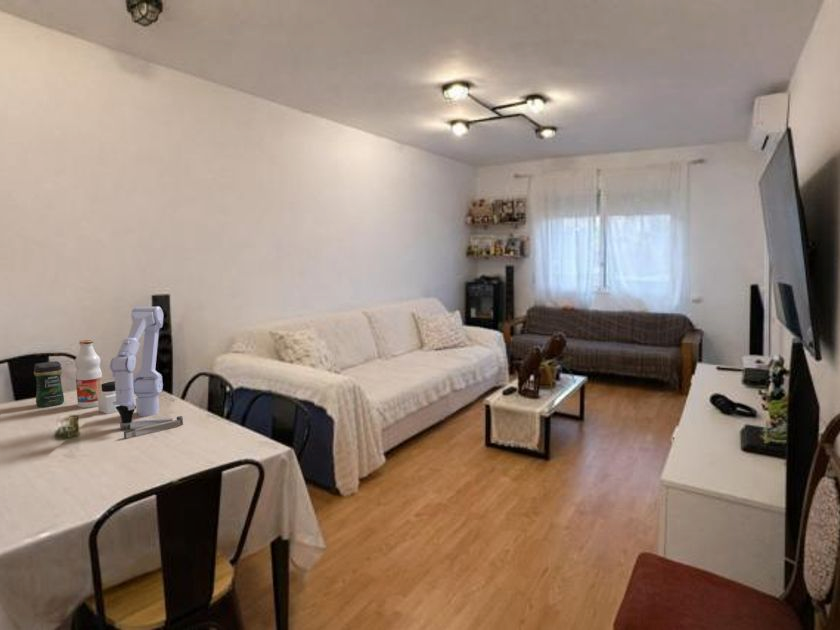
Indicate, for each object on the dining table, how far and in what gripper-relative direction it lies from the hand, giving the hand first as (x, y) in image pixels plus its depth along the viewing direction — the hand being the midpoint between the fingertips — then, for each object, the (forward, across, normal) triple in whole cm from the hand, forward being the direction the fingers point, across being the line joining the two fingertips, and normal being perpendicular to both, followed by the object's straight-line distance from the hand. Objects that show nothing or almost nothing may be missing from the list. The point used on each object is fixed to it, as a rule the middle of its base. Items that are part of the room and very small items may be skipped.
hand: (127, 424), depth 182 cm
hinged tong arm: (+1, +6, +5) cm, 8 cm away
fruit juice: (+2, -47, -1) cm, 47 cm away
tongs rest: (+2, +8, +5) cm, 10 cm away
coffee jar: (+2, -60, -13) cm, 61 cm away
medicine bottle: (+2, -32, +3) cm, 32 cm away
